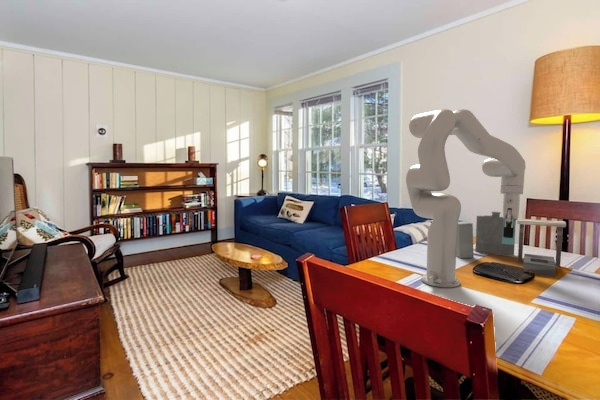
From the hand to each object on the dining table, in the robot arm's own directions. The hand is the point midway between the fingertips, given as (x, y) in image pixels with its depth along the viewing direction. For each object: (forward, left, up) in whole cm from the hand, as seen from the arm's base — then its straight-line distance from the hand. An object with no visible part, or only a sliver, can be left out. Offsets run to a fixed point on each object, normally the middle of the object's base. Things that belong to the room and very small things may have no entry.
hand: (508, 236), depth 133 cm
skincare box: (+14, +19, -14) cm, 27 cm away
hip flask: (+27, +7, -14) cm, 31 cm away
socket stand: (+9, -10, -14) cm, 19 cm away
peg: (0, 0, -3) cm, 3 cm away
